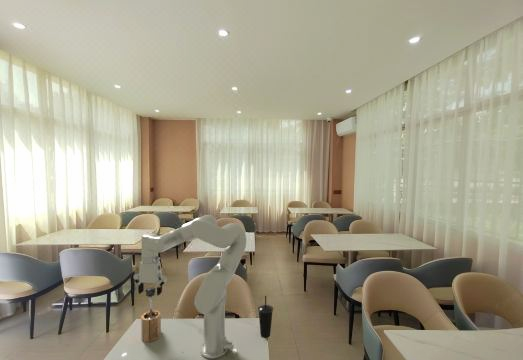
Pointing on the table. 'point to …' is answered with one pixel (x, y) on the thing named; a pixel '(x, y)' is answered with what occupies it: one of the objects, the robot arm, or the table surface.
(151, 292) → the plunger
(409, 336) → the table surface
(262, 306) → the drinking cup
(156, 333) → the brown faceted holder
